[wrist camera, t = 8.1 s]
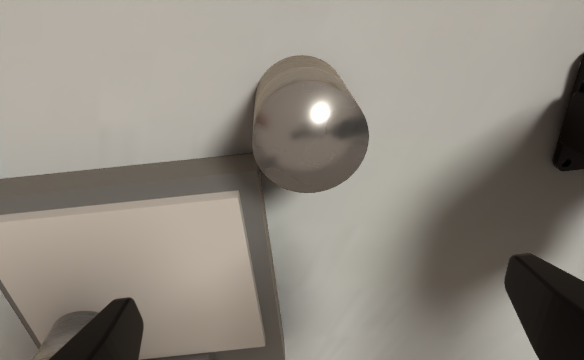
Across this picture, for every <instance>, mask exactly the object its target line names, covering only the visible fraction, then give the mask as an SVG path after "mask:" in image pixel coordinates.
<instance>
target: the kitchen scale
mask: <svg viewBox="0 0 584 360" xmlns="http://www.w3.org/2000/svg"><path fill="white" fill-rule="evenodd" d="M0 289H1V291H2V293H3V294H4V296H5V297H6V299H7V300H8V302H9V303H10V305H11V307H12V308H13V310H14V311H15V313H16V314H17V316H18V317H19V319H20V321H21V322H22V324H23V325H24V327H25V328H26V330H27V331H28V333H29V335H30V336H31V338H32V339H33V341H34V342H35V344H36V345H37V347H38V349H39V348H40V347H41V345H42V343H43V342H44V340H45V338H46V336H47V335H48V333H49V331H50V330H51V328H52V326H53V325H54V323H55V322H56V321H57V320H58V319H59V318H60V317H62V316H63V315H66V314H68V313H72V312H76V311H94V312H100V311H101V310H102V309H104V308H105V307H106V306H107V305H108V304H109V303H110V302H111V301H112V300H114V299H117V298H126V297H131V298H133V299H134V301H135V303H136V305H137V307H138V310H139V312H140V314H141V317H142V319H143V323H144V330H143V336H142V342H141V348H140V354H139V359H138V360H285V348H284V335H283V328H282V321H281V315H280V308H279V301H278V294H277V287H276V280H275V273H274V266H273V259H272V252H271V246H270V239H269V232H268V225H267V218H266V211H265V204H264V197H263V190H262V183H261V176H260V170H259V166H258V164H257V163H256V160H255V157H254V154H253V153H249V154H240V155H230V156H220V157H210V158H201V159H191V160H181V161H171V162H162V163H152V164H142V165H132V166H123V167H113V168H103V169H93V170H84V171H74V172H64V173H54V174H45V175H35V176H25V177H16V178H6V179H0Z"/></svg>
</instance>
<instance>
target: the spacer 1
mask: <svg viewBox="0 0 584 360" xmlns="http://www.w3.org/2000/svg"><path fill="white" fill-rule="evenodd" d="M98 313H99V312H94V311H76V312H72V313H68V314H66V315H63V316H62V317H60V318H59V319H58V320H57V321H56V322H55V323H54V325H53V326H52V328H51V330H50V331H49V333H48V335H47V336H46V338H45V340H44V342H43V343H42V345H41V347H40V348H39V350H38V352H37V353H36V355H35V357H34V358H33V360H49V359H50V358H51V357H52V356H53V355H54V354H55V353H56V352H57V351H58V350H59V349H60V348H62V347H63V346H64V345H65V344H66V343H67V342H68V341H69V340H70V339H71V338H72V337H73V336H74V335H76V334H77V333H78V332H79V331H80V330H81V329H82V328H83V327H84V326H85V325H86V324H87V323H88V322H90V321H91V320H92V319H93V318H94V317H95V316H96V315H97V314H98Z"/></svg>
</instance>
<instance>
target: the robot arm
mask: <svg viewBox="0 0 584 360" xmlns="http://www.w3.org/2000/svg"><path fill="white" fill-rule="evenodd" d="M564 160H566V161H565V162H564V163H563V161H564ZM553 166H554V167H556V168H557V169H559V170H560V171H570V170H579V169H584V56H583V58H582V60H581V64H580V67H579V71H578V74H577V78H576V81H575V85H574V88H573V92H572V95H571V99H570V102H569V106H568V109H567V113H566V116H565V120H564V123H563V127H562V130H561V134H560V137H559V141H558V144H557V148H556V151H555V155H554V158H553ZM504 284H505V289H506V291H507V294H508V296H509V298H510V300H511V302H512V304H513V306H514V309H515V311H516V313H517V315H518V317H519V319H520V322H521V324H522V326H523V328H524V330H525V332H526V335H527V337H528V339H529V341H530V343H531V345H532V347H533V349H534V351H535V353H536V355H537V356H538V358H539V360H584V281H582V280H580V279H578V278H576V277H574V276H573V275H571V274H569V273H567V272H565V271H563V270H561V269H559V268H557V267H556V266H554V265H552V264H550V263H548V262H546V261H544V260H542V259H540V258H539V257H537V256H535V255H533V254H530V253H525V254H516V255H512V256H511V257H510V259H509V262H508V267H507V271H506V275H505V280H504ZM143 330H144V323H143V319H142V317H141V314H140V312H139V310H138V307H137V305H136V303H135V301H134V299H133V298H131V297H126V298H117V299H114V300H112V301H111V302H110V303H109V304H108V305H107V306H106V307H105V308H104V309H102V310H101V311H100V312H99V313H98V314H97V315H96V316H95V317H94V318H93V319H92V320H91V321H90V322H88V323H87V324H86V325H85V326H84V327H83V328H82V329H81V330H80V331H79V332H78V333H77V334H76V335H74V336H73V337H72V338H71V339H70V340H69V341H68V342H67V343H66V344H65V345H64V346H63V347H62V348H60V349H59V350H58V351H57V352H56V353H55V354H54V355H53V356H52V357H51V358H50V359H49V360H138V359H139V354H140V348H141V342H142V336H143Z"/></svg>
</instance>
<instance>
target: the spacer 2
mask: <svg viewBox="0 0 584 360" xmlns="http://www.w3.org/2000/svg"><path fill="white" fill-rule="evenodd" d="M368 140H369V132H368V126H367V122H366V119H365V116H364V114H363V113H362V111H361V109H360V107H359V106H358V104H357V103H356V101H355V100H354V98H353V97H352V95H351V93H350V92H349V90H348V89H347V87H346V86H345V84H344V83H343V81H342V79H341V78H340V76H339V75H338V74H337V72H336V71H335V70H334V69H333V68H332V67H331V66H330V65H329V64H327V63H326V62H324V61H322V60H321V59H318V58H315V57H311V56H304V55H300V56H292V57H288V58H285V59H283V60H281V61H279V62H277V63H275V64H274V65H273V66H271V67H270V68H269V69H268V70H267V71H266V72H265V74H264V75H263V77H262V78H261V80H260V82H259V84H258V87H257V90H256V95H255V108H254V120H253V132H252V150H253V154H254V157H255V160H256V163H257V164H258V166H259V168H260V169H261V171H262V172H263V173H264V174H265V176H266V177H267V178H268V179H270V180H271V181H272V182H273V183H275V184H277V185H278V186H280V187H282V188H285V189H287V190H290V191H294V192H300V193H315V192H321V191H325V190H328V189H331V188H333V187H335V186H337V185H339V184H341V183H342V182H344V181H345V180H347V179H348V178H349V177H350V176H351V175H352V174H353V173H354V172H355V171H356V170H357V168H358V167H359V166H360V164H361V162H362V161H363V159H364V157H365V154H366V151H367V147H368Z"/></svg>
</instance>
